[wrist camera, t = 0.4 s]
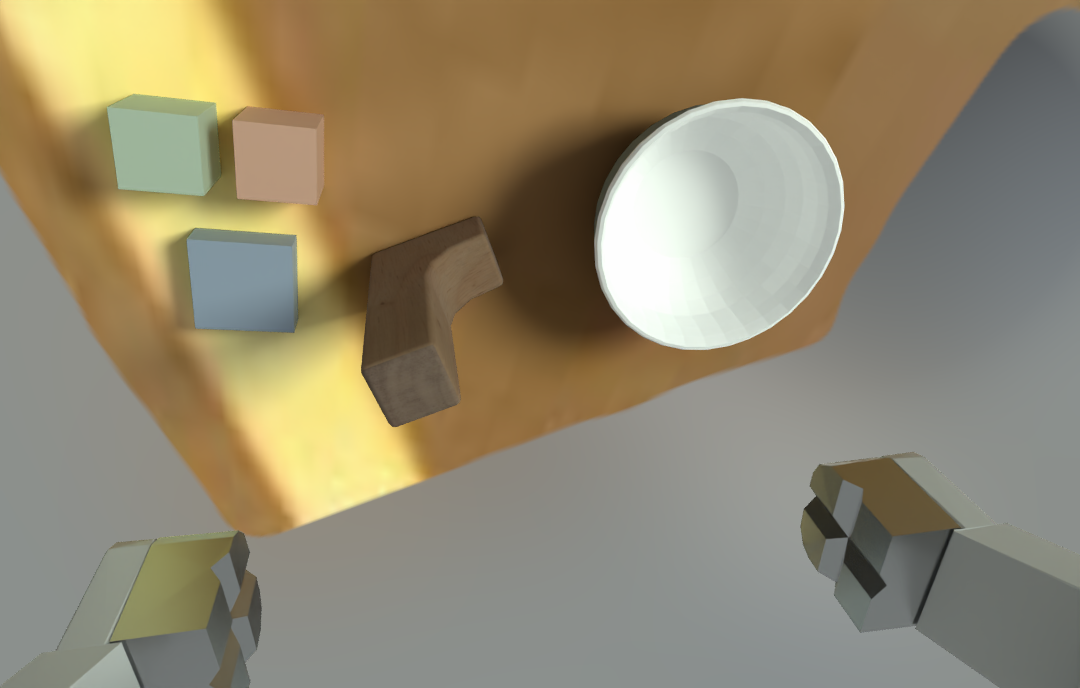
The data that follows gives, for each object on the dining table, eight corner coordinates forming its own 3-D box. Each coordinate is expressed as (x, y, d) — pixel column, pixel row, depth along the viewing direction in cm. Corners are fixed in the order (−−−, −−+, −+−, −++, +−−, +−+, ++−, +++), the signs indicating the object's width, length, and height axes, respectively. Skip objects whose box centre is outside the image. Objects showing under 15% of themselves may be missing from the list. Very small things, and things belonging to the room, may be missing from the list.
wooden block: (479, 213, 53) (511, 314, 38) (498, 263, 56) (536, 378, 40) (370, 253, 53) (358, 370, 38) (393, 302, 56) (391, 431, 40)
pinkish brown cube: (247, 106, 47) (232, 120, 43) (324, 114, 48) (316, 129, 44) (251, 178, 49) (237, 198, 45) (324, 184, 50) (316, 205, 46)
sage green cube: (134, 93, 46) (107, 106, 41) (216, 102, 47) (197, 116, 42) (143, 168, 48) (118, 189, 44) (221, 175, 49) (204, 196, 45)
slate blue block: (195, 227, 50) (186, 239, 48) (296, 235, 52) (292, 246, 50) (203, 314, 53) (195, 328, 51) (298, 318, 55) (294, 332, 53)
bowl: (551, 111, 51) (576, 134, 44) (791, 56, 52) (853, 71, 45) (587, 328, 60) (613, 377, 53) (790, 278, 61) (841, 319, 54)
